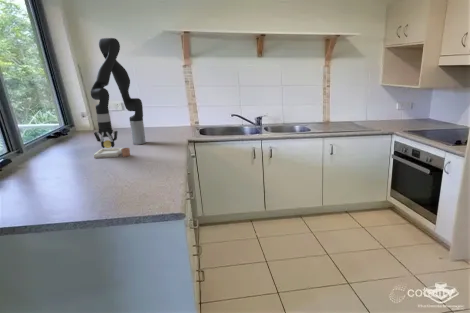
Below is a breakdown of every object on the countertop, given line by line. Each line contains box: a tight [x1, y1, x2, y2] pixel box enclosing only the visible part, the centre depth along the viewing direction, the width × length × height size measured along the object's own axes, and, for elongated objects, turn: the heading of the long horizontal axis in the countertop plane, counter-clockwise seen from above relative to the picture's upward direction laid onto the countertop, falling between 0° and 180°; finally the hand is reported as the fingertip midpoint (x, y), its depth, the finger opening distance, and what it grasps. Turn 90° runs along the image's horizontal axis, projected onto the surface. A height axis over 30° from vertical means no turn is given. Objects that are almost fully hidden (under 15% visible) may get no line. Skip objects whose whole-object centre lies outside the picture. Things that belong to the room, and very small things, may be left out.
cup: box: [121, 147, 131, 158], centre depth 173 cm, size 5×5×5 cm
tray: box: [93, 147, 124, 159], centre depth 178 cm, size 14×14×2 cm
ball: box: [104, 139, 112, 149], centre depth 176 cm, size 5×5×5 cm
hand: (108, 147), depth 177 cm, fingers closed on ball, 5 cm apart
